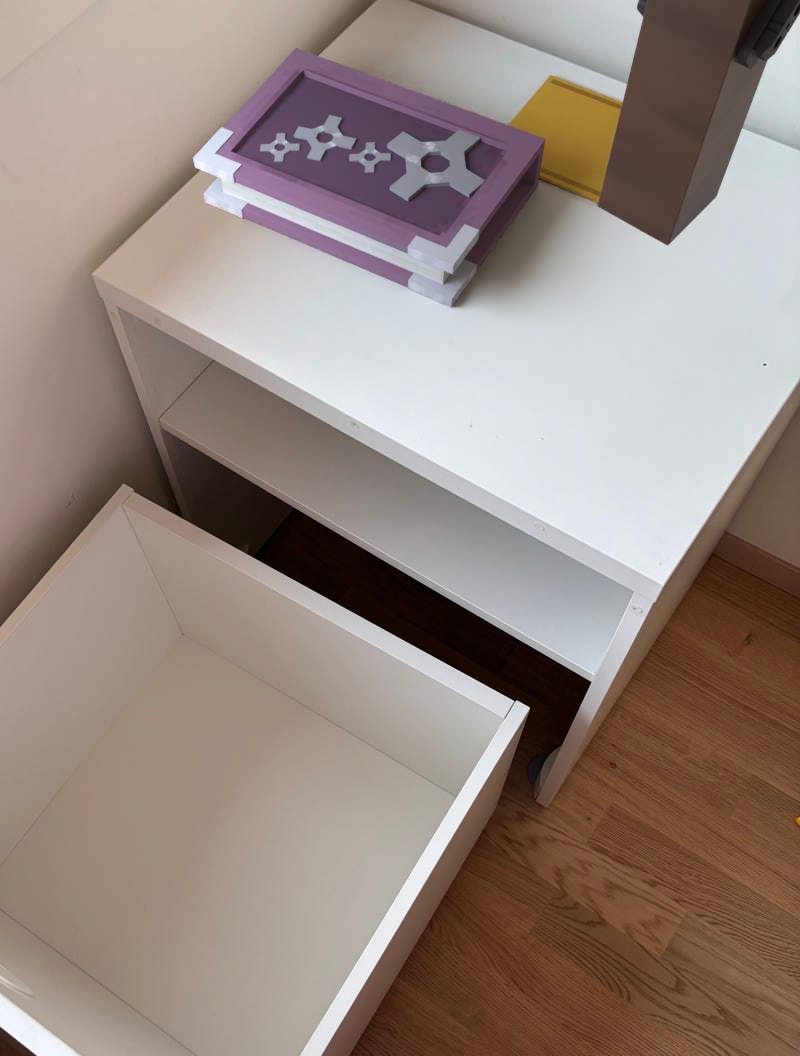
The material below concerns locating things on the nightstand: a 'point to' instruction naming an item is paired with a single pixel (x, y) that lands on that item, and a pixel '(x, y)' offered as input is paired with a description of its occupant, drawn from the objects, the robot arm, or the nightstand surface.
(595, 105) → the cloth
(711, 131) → the knife block
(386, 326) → the nightstand surface
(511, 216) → the book
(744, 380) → the nightstand surface
